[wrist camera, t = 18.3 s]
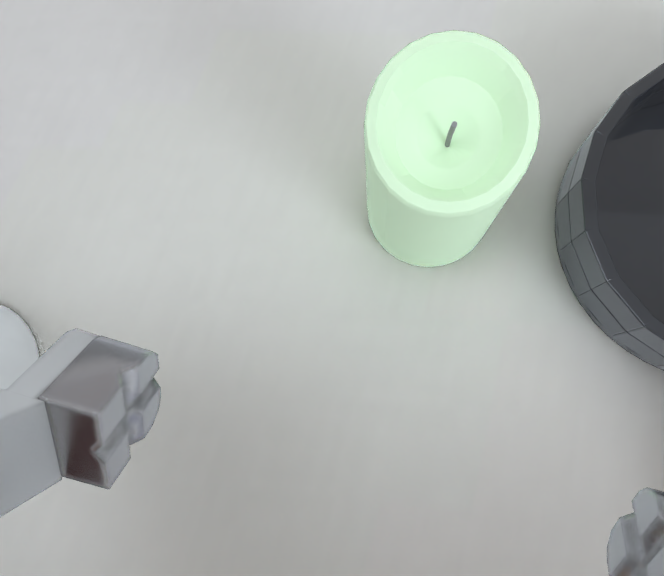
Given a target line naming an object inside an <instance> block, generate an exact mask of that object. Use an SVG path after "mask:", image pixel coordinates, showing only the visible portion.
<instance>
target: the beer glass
mask: <svg viewBox="0 0 664 576" xmlns="http://www.w3.org/2000/svg"><path fill="white" fill-rule="evenodd" d="M37 359H39V352H38V347H37V344H36V341H35V338H34V336H33V334H32V332H31V330H30V328H29V327H28V325H27V324H26V323H25V321H24V320H23V319H22V318H21V317H20V316H19V315H18V314H16V313H15V312H14V311H12V310H11V309H9V308H7V307H5V306H3V305H1V304H0V388H1V389H5V390H6V389H7V388H8V387H9V386H10V385H11V384H13V383H14V382H15V381H16V380H17V379H18V378H19V377H20V376H21V375H22V374H23V373H24V372H25V371H26V370H27V369H28V368H29V367H30V366H31V365H32V364H33V363H34V362H35V361H36V360H37Z"/></svg>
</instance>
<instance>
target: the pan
mask: <svg viewBox="0 0 664 576" xmlns="http://www.w3.org/2000/svg"><path fill="white" fill-rule="evenodd" d="M555 234H556V242H557V249H558V253H559V257H560V260H561V264H562V268H563V270H564V273H565V275H566V277H567V280H568V282H569V285H570V287H571V289H572V290H573V292H574V294H575V295H576V297H577V299H578V301H579V302H580V304H581V305H582V307H583V308H584V309H585V311H586V312H587V313H588V315H589V316H590V317H591V319H592V320H593V321H594V322H595V323H596V324H597V325H598V326H599V327H600V328H601V329H602V330H603V331H604V332H605V333H606V334H607V335H608V336H609V337H610V338H611V339H612V340H614V341H615V342H616V343H617V344H619V345H620V346H621V347H622V348H624V349H625V350H626V351H628V352H630V353H631V354H633V355H634V356H636V357H638V358H639V359H641V360H643V361H644V362H646V363H649V364H651V365H653V366H655V367H657V368H659V369H661V370H663V371H664V63H663V64H661V65H660V66H659V67H657V68H656V69H654V70H653V71H652V72H650V73H649V74H647V75H646V76H644V77H643V78H642V79H640V80H639V81H637V82H636V83H634V84H633V85H632V86H630V87H629V88H627V89H626V90H625V91H624V92H623V93H621V95H620V96H619V97H618V98H617V100H616V101H615V102H614V103H613V105H612V106H611V107H610V108H609V110H608V111H607V112H606V113H605V115H604V116H603V117H602V118H601V120H600V121H599V122H598V123H597V125H596V126H595V127H594V129H593V130H592V131H591V133H590V134H589V135H588V137H587V138H586V140H585V141H584V142H583V144H582V145H581V146H580V148H579V149H578V151H577V152H576V153H575V155H574V156H573V158H572V159H571V160H570V163H569V165H568V168H567V170H566V172H565V174H564V176H563V179H562V183H561V186H560V189H559V193H558V198H557V204H556V211H555Z"/></svg>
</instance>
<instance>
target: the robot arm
mask: <svg viewBox="0 0 664 576" xmlns="http://www.w3.org/2000/svg"><path fill="white" fill-rule="evenodd" d="M158 370H159V361H158V354H156V353H155V352H153V351H150V350H147V349H143V348H140V347H137V346H134V345H130V344H127V343H124V342H120V341H117V340H114V339H111V338H107V337H104V336H99V335H96V334H93V333H89V332H86V331H83V330H79V329H76V328H75V329H73V330H70V331H67V332H66V333H65V334H64V335H62V336H61V337H60V338H59V339H58V340H57V341H56V342H55V343H54V344H53V345H52V346H51V347H50V348H49V349H48V350H47V351H46V352H45V353H44V354H43V355H42V356H41V357H40V358H39V359H37V360H36V361H35V362H34V363H33V364H32V365H31V366H30V367H29V368H28V369H27V370H26V371H25V372H24V373H23V374H22V375H21V376H20V377H19V378H18V379H17V380H16V381H15V382H14V383H13V384H11V385H10V386H9V387H8V388H7V389H6V390H5V389H1V388H0V517H1V516H3V515H5V514H6V513H8V512H10V511H11V510H13V509H14V508H16V507H18V506H19V505H21V504H23V503H24V502H26V501H28V500H29V499H31V498H32V497H34V496H36V495H37V494H39V493H41V492H42V491H44V490H45V489H47V488H49V487H50V486H52V485H54V484H55V483H57V482H59V481H60V480H62V477H66V478H69V479H73V480H77V481H80V482H84V483H87V484H91V485H94V486H98V487H101V488H105V489H110V488H111V486H112V485H113V483H114V482H115V480H116V479H117V478H118V476H119V475H120V473H121V472H122V470H123V469H124V467H125V466H126V464H127V463H128V461H129V460H130V458H131V457H130V447H129V445H131V444H133V443H135V442H137V441H139V440H141V439H143V438H145V436H146V435H147V433H148V431H149V430H150V428H151V427H152V425H153V423H154V420H155V418H156V415H157V413H158V410H159V406H160V400H161V388H160V386H159V384H158V383H157V382H156V380H155V379H154V378H153V376H154V375H155V374H156V372H157V371H158ZM61 476H62V477H61ZM632 505H633V509H634V513H631V514H628V515H626V516H623V517H620V518H619V519H618V521H617V522H616V524H615V525H614V527H613V528H612V530H611V533H610V537H609V541H608V545H607V564H608V571H609V576H664V492H662V491H659V490H655V489H651V488H645V489H643V490H640V491H639V492H638V493H637V495H636V496H635V497H634V499H633V500H632Z"/></svg>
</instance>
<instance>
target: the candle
mask: <svg viewBox="0 0 664 576" xmlns="http://www.w3.org/2000/svg"><path fill="white" fill-rule="evenodd" d="M539 130H540V113H539V100H538V97H537V94H536V91H535V89H534V86H533V83H532V80H531V77H530V76H529V74H528V73H527V71H526V70H525V68H524V67H523V66H522V64H521V63H520V61H519V60H518V58H517V57H516V56H515V55H513V54H512V53H511V52H510V51H509V50H507V49H506V48H505V47H504V46H503V45H501V44H500V43H499V42H497V41H495V40H492V39H490V38H488V37H485V36H483V35H481V34H478V33H473V32H465V31H457V30H451V31H445V32H439V33H433V34H429V35H427V36H425V37H423V38H420V39H418V40H416V41H414V42H412V43H409V44H408V45H407V46H406V47H404V48H403V49H402V50H401V51H400V52H398V53H397V54H396V55H395V56H394V57H392V58H391V59H390V60H389V62H388V63H387V65H386V66H385V67H384V69H383V70H382V71H381V73H380V74H379V76H378V77H377V78H376V80H375V83H374V85H373V88H372V90H371V93H370V95H369V98H368V100H367V106H366V113H365V121H364V141H365V165H366V189H367V209H368V218H369V224H370V226H371V229H372V231H373V234H374V236H375V238H376V239H377V240H378V242H379V243H380V244H381V246H382V247H383V248H384V249H385V250H386V251H387V252H389V253H390V254H391V255H393V256H394V257H395V258H397V259H399V260H401V261H403V262H406V263H408V264H411V265H415V266H422V267H436V266H444V265H447V264H450V263H452V262H455V261H457V260H460V259H461V258H463V257H464V256H465V255H467V254H468V253H469V252H471V251H472V250H473V249H474V248H475V246H476V245H477V244H478V243H479V241H480V240H481V239H482V238H483V236H484V235H485V233H486V232H487V230H488V228H489V227H490V225H491V224H492V222H493V221H494V219H495V218H496V216H497V215H498V213H499V212H500V210H501V209H502V207H503V206H504V204H505V203H506V201H507V200H508V198H509V197H510V195H511V194H512V192H513V191H514V189H515V188H516V186H517V185H518V183H519V182H520V180H521V179H522V177H523V175H524V174H525V172H526V171H527V169H528V166H529V164H530V162H531V160H532V157H533V155H534V153H535V151H536V147H537V142H538V136H539Z"/></svg>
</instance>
